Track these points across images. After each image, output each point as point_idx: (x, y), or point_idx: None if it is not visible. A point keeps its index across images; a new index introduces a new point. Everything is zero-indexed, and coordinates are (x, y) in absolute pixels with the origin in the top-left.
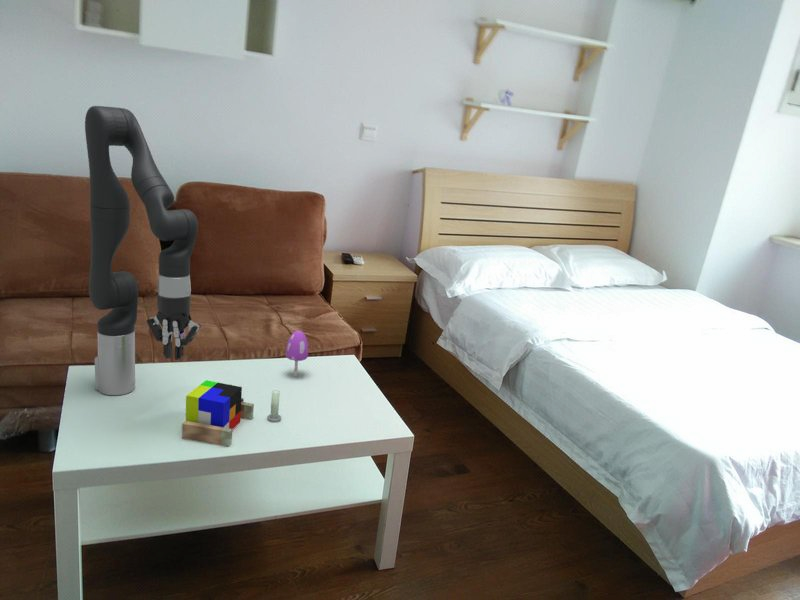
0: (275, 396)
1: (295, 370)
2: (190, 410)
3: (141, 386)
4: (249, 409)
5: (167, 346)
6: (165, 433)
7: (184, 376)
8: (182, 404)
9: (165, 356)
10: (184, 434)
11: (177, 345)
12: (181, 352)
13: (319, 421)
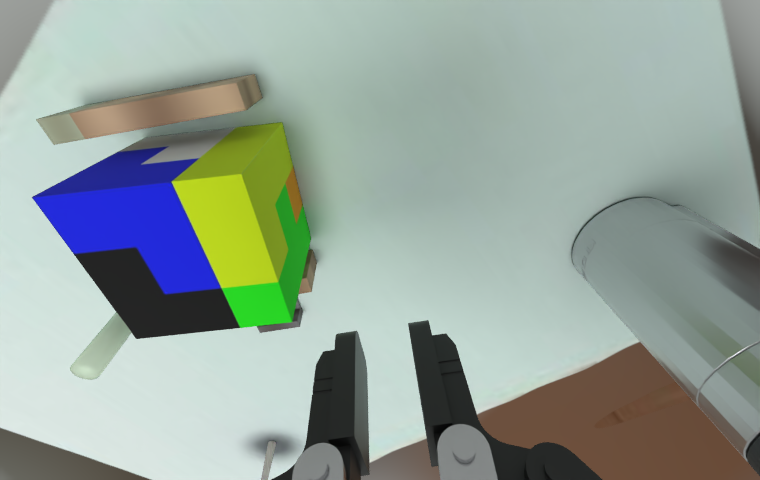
0: (81, 354)
1: (267, 457)
2: (238, 150)
3: (560, 278)
4: None
5: (427, 413)
6: (328, 76)
7: (483, 355)
8: (403, 253)
9: (429, 329)
10: (241, 77)
11: (318, 457)
12: (316, 399)
13: (49, 336)
